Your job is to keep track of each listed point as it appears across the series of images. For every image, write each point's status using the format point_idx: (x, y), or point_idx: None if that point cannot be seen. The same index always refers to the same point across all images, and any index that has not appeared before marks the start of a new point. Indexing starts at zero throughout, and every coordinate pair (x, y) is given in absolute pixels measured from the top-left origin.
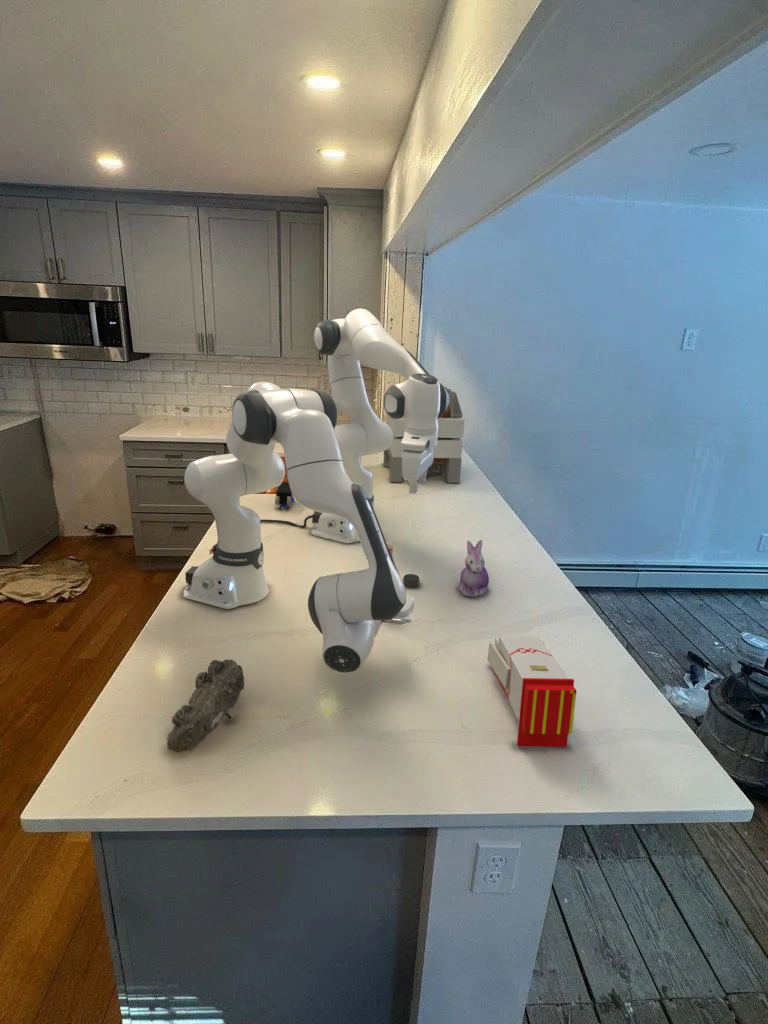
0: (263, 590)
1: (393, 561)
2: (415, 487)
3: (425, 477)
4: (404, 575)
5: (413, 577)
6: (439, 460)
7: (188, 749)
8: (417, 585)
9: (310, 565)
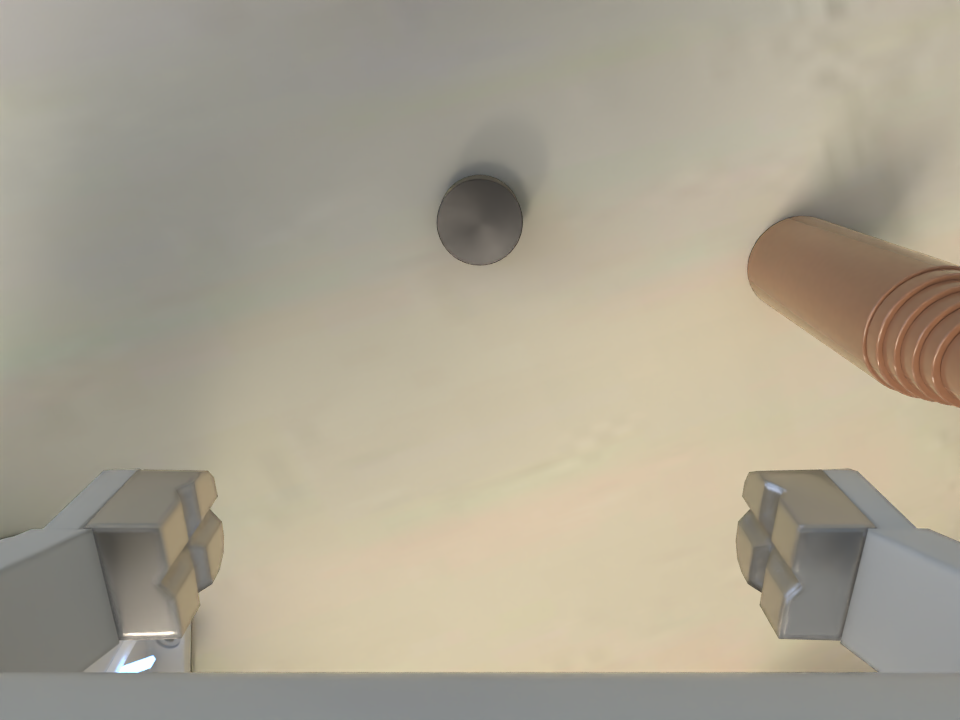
0: None
1: None
2: (929, 540)
3: (81, 526)
4: (472, 264)
5: (477, 212)
6: None
7: None
8: (495, 178)
9: (472, 658)
